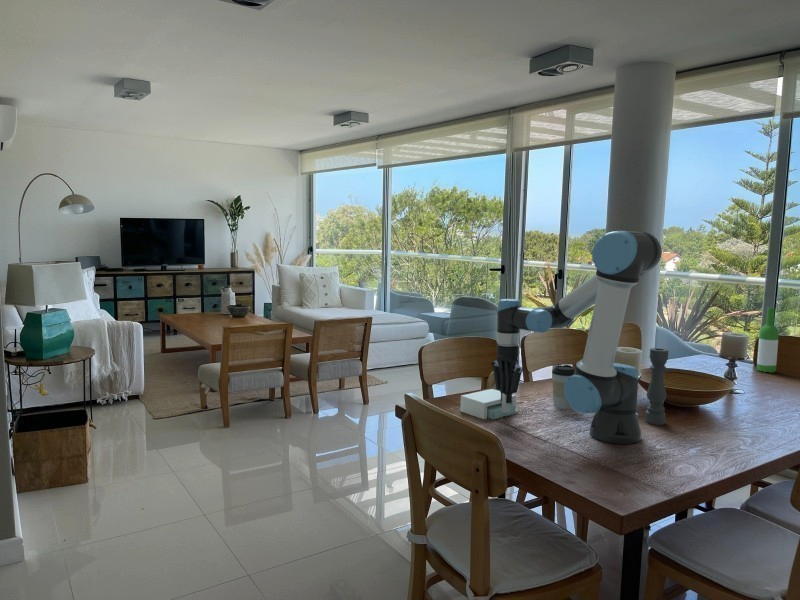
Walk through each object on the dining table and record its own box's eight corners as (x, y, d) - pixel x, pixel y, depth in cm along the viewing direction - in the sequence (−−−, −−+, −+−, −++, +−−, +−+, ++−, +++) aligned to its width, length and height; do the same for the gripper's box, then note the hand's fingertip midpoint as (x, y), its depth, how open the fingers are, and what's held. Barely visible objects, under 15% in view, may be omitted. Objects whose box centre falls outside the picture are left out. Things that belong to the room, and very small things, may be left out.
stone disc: (503, 392, 239) (504, 367, 238) (510, 394, 236) (511, 369, 235) (484, 395, 233) (485, 370, 232) (491, 398, 230) (492, 372, 229)
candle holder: (642, 422, 203) (646, 349, 200) (649, 418, 207) (653, 347, 205) (660, 426, 199) (665, 352, 196) (667, 421, 203) (672, 349, 200)
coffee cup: (570, 411, 214) (572, 370, 212) (546, 406, 219) (548, 366, 218) (579, 405, 221) (581, 366, 219) (556, 401, 227) (558, 362, 225)
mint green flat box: (514, 413, 211) (515, 405, 210) (493, 419, 204) (493, 410, 204) (493, 407, 218) (493, 399, 218) (472, 412, 212) (472, 404, 211)
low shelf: (515, 411, 214) (515, 395, 213) (483, 419, 204) (484, 403, 203) (491, 403, 223) (491, 388, 222) (460, 411, 213) (460, 395, 212)
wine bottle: (778, 373, 277) (784, 309, 274) (760, 372, 278) (765, 308, 275) (771, 369, 284) (776, 307, 281) (753, 369, 286) (758, 306, 282)
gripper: (530, 346, 201) (527, 414, 204) (501, 340, 211) (499, 405, 214) (515, 348, 196) (512, 418, 199) (486, 342, 207) (484, 409, 209)
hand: (505, 411), depth 206 cm, fingers closed
